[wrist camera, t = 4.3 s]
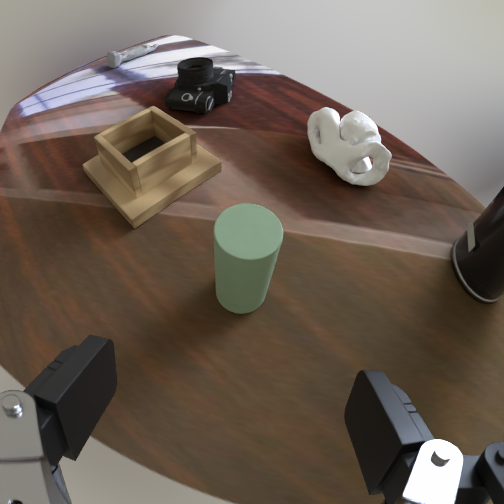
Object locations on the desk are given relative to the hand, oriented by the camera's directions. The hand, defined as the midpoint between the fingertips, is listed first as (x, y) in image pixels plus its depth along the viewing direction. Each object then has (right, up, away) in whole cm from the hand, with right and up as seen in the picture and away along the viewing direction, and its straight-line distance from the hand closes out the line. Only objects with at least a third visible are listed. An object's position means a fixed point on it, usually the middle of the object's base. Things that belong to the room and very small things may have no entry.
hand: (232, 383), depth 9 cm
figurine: (-24, +45, +44) cm, 67 cm away
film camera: (-7, +28, +35) cm, 46 cm away
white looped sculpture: (+12, +16, +29) cm, 35 cm away
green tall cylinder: (0, +1, +18) cm, 18 cm away
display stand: (-11, +14, +25) cm, 31 cm away
